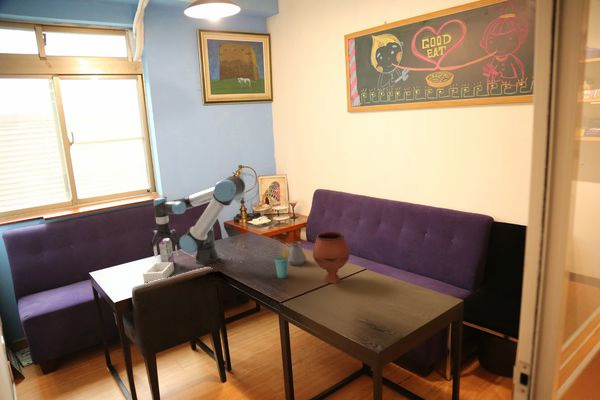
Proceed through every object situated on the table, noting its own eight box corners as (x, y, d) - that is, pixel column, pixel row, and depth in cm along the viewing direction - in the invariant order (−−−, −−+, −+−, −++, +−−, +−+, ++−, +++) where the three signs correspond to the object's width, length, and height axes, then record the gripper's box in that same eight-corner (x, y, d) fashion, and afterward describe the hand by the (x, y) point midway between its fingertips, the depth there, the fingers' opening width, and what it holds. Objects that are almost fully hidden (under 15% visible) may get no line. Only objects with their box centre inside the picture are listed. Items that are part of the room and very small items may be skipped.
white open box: (174, 270, 246) (173, 261, 245) (164, 281, 229) (162, 272, 228) (155, 271, 247) (154, 262, 246) (144, 282, 230) (142, 273, 229)
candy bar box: (166, 262, 261) (163, 238, 258) (174, 262, 261) (171, 237, 258) (161, 269, 250) (158, 243, 247) (170, 268, 250) (166, 243, 247)
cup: (277, 282, 218) (275, 256, 215) (267, 279, 223) (265, 253, 220) (294, 274, 229) (292, 248, 226) (284, 271, 234) (282, 246, 231)
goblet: (348, 272, 226) (346, 229, 221) (352, 286, 208) (350, 239, 203) (314, 274, 227) (311, 230, 222) (314, 288, 208) (311, 241, 203)
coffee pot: (309, 261, 248) (308, 237, 245) (300, 267, 238) (298, 243, 235) (280, 257, 259) (278, 234, 256) (270, 263, 249) (268, 239, 246)
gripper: (184, 220, 254) (188, 252, 258) (145, 222, 254) (149, 254, 259) (180, 223, 246) (184, 256, 250) (140, 225, 247) (144, 258, 251)
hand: (166, 255), depth 255 cm, fingers open, 13 cm apart
